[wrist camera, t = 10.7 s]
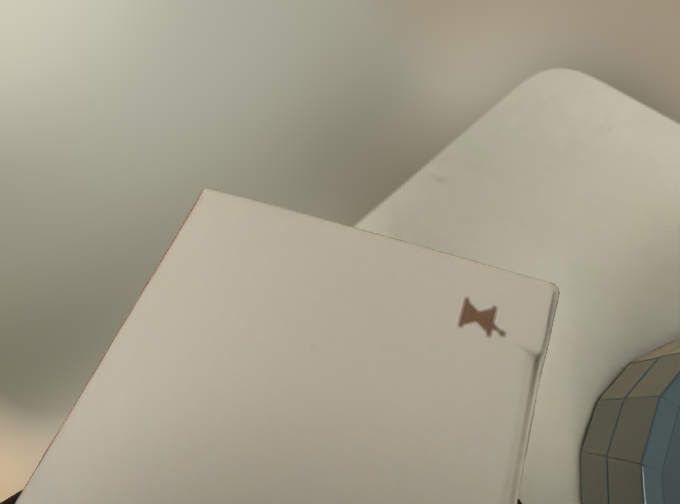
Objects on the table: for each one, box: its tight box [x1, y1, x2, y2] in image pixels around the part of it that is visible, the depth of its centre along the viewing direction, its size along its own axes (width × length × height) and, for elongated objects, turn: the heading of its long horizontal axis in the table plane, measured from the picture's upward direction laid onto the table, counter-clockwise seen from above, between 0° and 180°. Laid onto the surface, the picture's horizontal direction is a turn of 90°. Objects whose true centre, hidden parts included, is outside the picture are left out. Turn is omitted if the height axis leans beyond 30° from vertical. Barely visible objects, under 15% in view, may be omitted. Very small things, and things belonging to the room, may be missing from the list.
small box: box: [15, 188, 560, 504], centre depth 9 cm, size 8×6×10 cm
